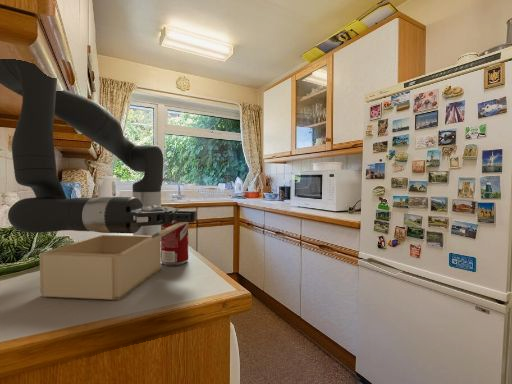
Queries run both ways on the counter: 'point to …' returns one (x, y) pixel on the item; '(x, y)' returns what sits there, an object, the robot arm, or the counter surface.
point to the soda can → (174, 245)
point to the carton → (98, 267)
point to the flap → (155, 236)
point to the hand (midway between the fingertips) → (195, 216)
